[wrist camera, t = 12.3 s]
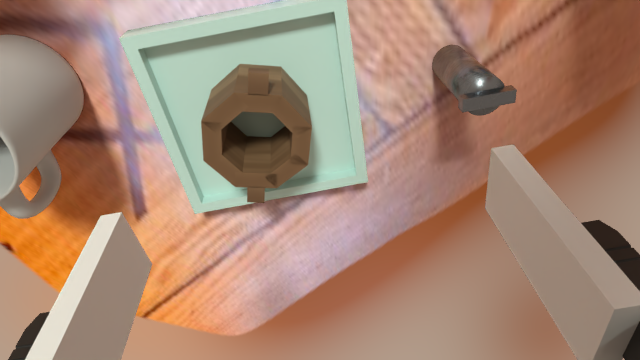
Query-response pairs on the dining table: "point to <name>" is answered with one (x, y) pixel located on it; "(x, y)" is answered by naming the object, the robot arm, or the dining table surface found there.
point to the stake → (471, 81)
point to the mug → (33, 119)
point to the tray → (215, 64)
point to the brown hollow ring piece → (250, 151)
